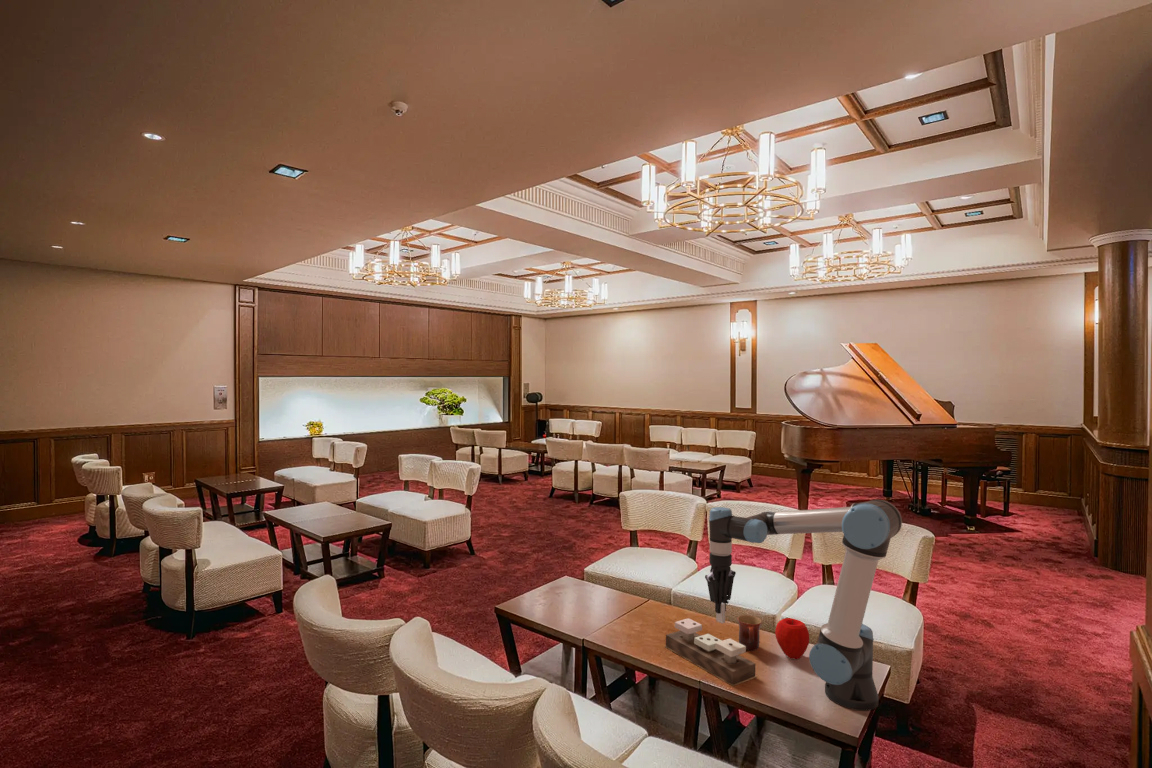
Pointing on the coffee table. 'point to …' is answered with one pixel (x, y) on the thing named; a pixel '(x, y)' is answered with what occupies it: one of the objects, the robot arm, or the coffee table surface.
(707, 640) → the three-pip tile
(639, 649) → the coffee table surface
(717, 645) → the tile
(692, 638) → the tile
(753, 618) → the mug
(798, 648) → the apple
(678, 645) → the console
